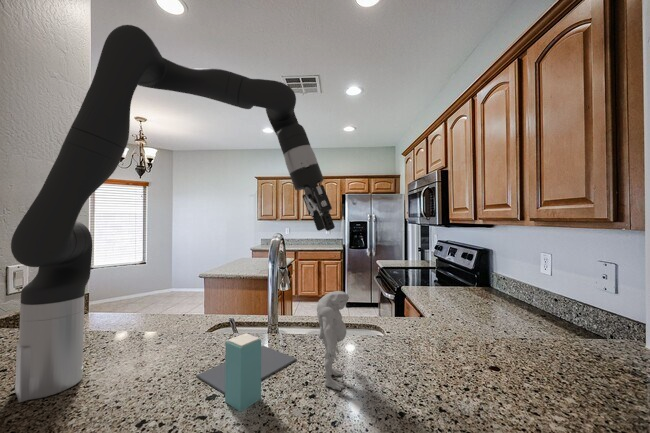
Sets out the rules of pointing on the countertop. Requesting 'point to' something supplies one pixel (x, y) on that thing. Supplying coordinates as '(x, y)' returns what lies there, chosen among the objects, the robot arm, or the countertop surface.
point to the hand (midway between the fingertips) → (325, 229)
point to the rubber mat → (269, 365)
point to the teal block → (243, 371)
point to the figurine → (332, 331)
